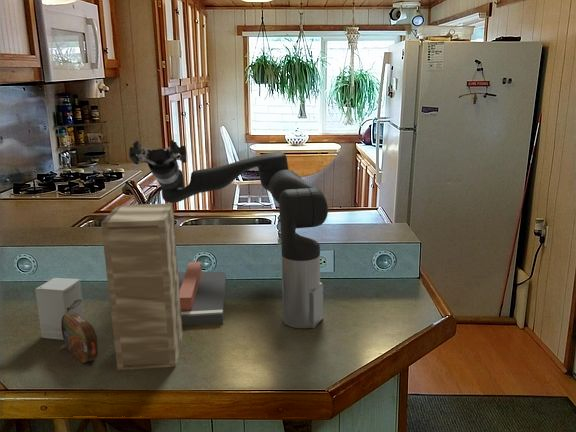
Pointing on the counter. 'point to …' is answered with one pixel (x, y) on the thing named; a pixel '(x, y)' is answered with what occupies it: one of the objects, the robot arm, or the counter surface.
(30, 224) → the counter surface
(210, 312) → the mat
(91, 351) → the tin
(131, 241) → the shelf stand
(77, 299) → the supplement box
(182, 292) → the bar
